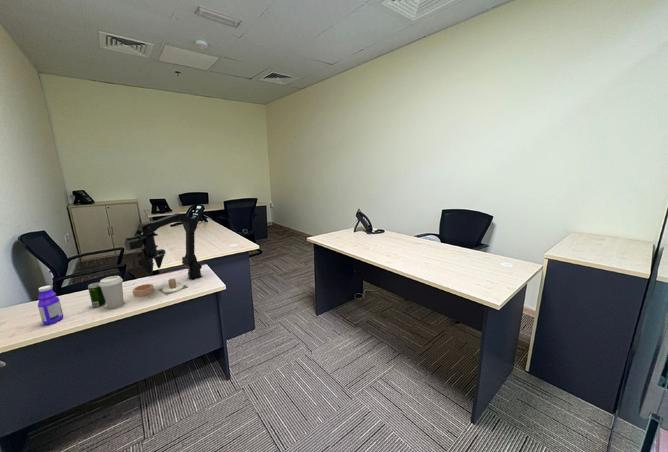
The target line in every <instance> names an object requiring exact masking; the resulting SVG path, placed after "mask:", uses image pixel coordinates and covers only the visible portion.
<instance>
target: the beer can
mask: <svg viewBox="0 0 668 452" xmlns="http://www.w3.org/2000/svg"><path fill="white" fill-rule="evenodd" d="M99 283H100V281H98V282H93V283H90V284H88V285H87V290H88V293H89V297H90V301H91V302H90V303H91V305H92V307H93V308H96V309H97V308H101V307H104V306H105V305H107V303H106V300H105V298H104V295H103V292H102V289H101V287H100V286H99Z"/></svg>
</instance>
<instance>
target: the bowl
mask: <svg viewBox="0 0 668 452" xmlns="http://www.w3.org/2000/svg"><path fill="white" fill-rule="evenodd" d="M154 291H155V286H154V284H153V283H144V284H140V285H138V286H136V287H133V289H132V295H133V296H134V297H144V296H148V295H151V294H153V293H154Z"/></svg>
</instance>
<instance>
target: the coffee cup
mask: <svg viewBox="0 0 668 452" xmlns="http://www.w3.org/2000/svg"><path fill="white" fill-rule="evenodd" d="M99 282H100V283H99V286H100V287H101V289H102V292H103V295H104V298H105V300H106V305H107V308H108V309H109V310H111V309H112V310H113V309H116V308H117V309H118V308H120V307H123V305H125V300H124V291H123V282H124V280H123V278H122V277H121V276H119V275H114V276H113V275H112V276H107V277H105V278H102V279H100V281H99Z"/></svg>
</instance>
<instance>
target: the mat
mask: <svg viewBox="0 0 668 452" xmlns="http://www.w3.org/2000/svg"><path fill="white" fill-rule="evenodd" d="M163 288H164V287H162V288H160V289H158V291H159V292H161V293H162V294H164V295H166V296H168V295H172V294H175V293H177V292H179V291H183V290H186V289H188V288H189V286H187V285H185V284H184V287H183V288H182V289H181V290H179V291H176V292H171V293H164V292H163V291H162V289H163Z"/></svg>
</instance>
